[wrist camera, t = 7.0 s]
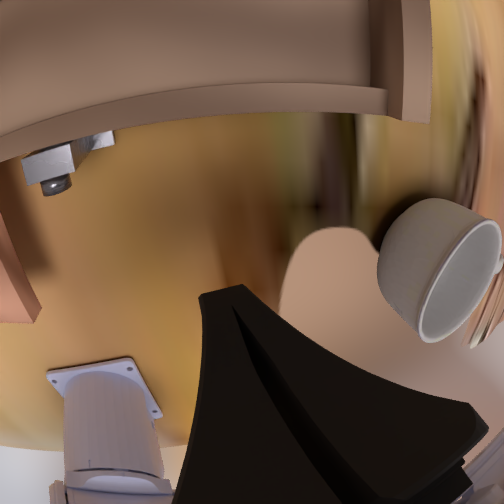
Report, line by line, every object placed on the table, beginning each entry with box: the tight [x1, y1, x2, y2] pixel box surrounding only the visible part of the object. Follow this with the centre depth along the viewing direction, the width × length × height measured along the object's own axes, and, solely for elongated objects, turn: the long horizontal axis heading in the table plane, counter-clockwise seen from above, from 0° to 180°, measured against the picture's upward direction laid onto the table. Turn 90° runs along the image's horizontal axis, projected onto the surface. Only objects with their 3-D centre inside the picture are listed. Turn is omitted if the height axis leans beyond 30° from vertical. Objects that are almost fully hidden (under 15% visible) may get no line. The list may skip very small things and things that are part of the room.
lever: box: [0, 0, 432, 323], centre depth 8 cm, size 15×20×3 cm
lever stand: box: [21, 131, 115, 196], centre depth 8 cm, size 11×4×6 cm, turn 3°
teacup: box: [377, 198, 504, 343], centre depth 22 cm, size 14×11×8 cm
